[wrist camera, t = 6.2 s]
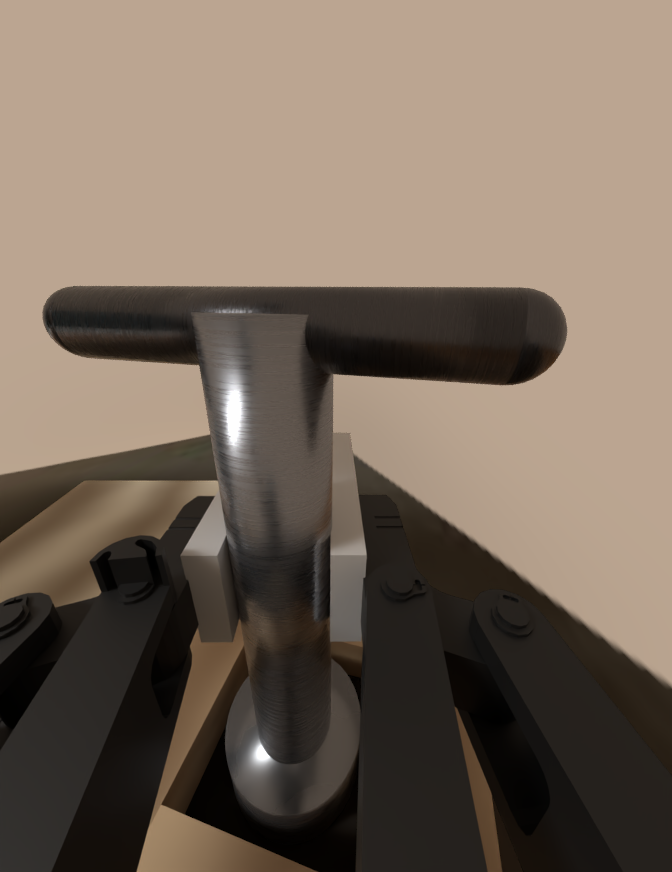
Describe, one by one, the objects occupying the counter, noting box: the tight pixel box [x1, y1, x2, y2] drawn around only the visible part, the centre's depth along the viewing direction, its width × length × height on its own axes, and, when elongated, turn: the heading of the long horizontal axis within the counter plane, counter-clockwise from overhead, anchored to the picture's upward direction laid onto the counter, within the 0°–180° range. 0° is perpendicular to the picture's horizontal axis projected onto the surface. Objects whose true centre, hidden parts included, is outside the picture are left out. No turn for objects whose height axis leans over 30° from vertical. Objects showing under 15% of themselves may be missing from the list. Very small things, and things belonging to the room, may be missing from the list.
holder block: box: [137, 619, 502, 872], centre depth 11 cm, size 12×12×2 cm
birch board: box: [0, 481, 219, 607], centre depth 20 cm, size 14×12×1 cm
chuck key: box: [43, 286, 567, 845], centre depth 8 cm, size 9×4×15 cm, turn 76°
